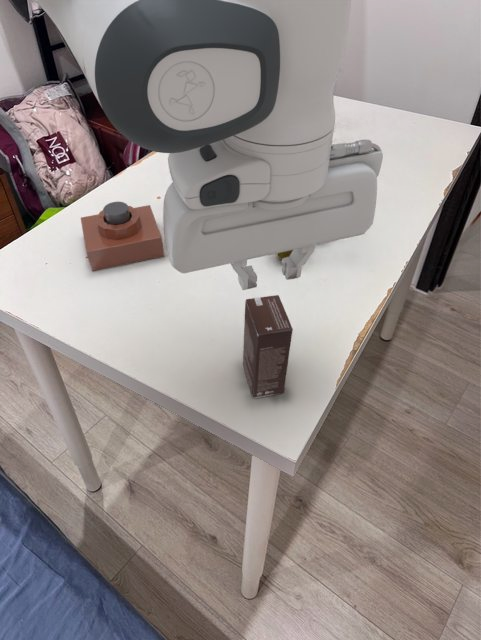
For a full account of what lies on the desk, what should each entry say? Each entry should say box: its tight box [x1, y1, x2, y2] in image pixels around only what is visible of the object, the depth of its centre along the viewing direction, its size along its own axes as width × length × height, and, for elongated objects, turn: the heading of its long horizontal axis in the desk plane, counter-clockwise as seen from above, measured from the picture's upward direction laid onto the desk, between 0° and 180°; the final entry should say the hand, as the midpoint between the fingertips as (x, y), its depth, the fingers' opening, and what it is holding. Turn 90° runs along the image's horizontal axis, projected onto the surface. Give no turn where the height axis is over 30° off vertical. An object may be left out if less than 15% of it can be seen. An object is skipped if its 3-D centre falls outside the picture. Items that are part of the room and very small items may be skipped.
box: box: [242, 294, 293, 399], centre depth 57 cm, size 6×4×12 cm
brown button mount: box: [80, 204, 165, 272], centre depth 78 cm, size 12×10×6 cm
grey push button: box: [102, 201, 130, 225], centre depth 76 cm, size 4×4×2 cm
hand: (269, 280), depth 49 cm, fingers open, 3 cm apart
